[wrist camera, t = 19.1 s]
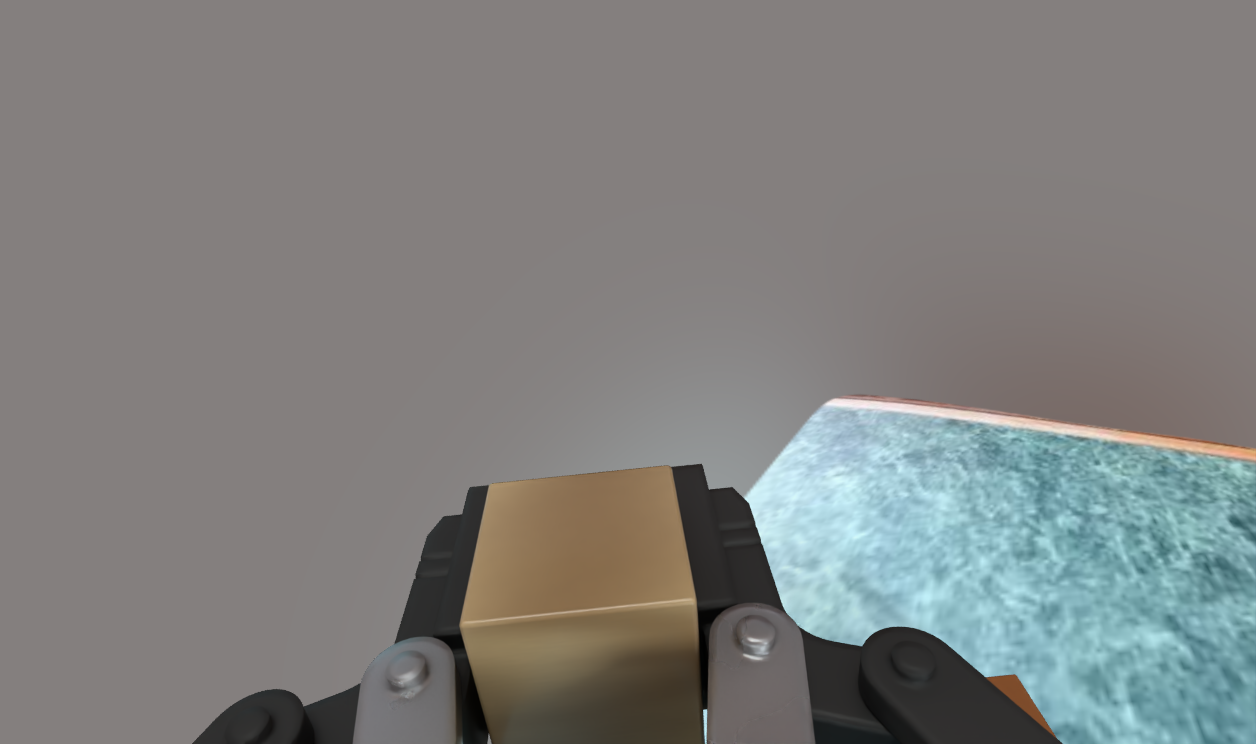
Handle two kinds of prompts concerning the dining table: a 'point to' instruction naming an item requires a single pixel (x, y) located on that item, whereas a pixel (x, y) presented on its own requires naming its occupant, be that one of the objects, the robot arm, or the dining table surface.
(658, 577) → the pillar on square base
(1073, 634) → the dining table surface
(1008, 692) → the brown square block
